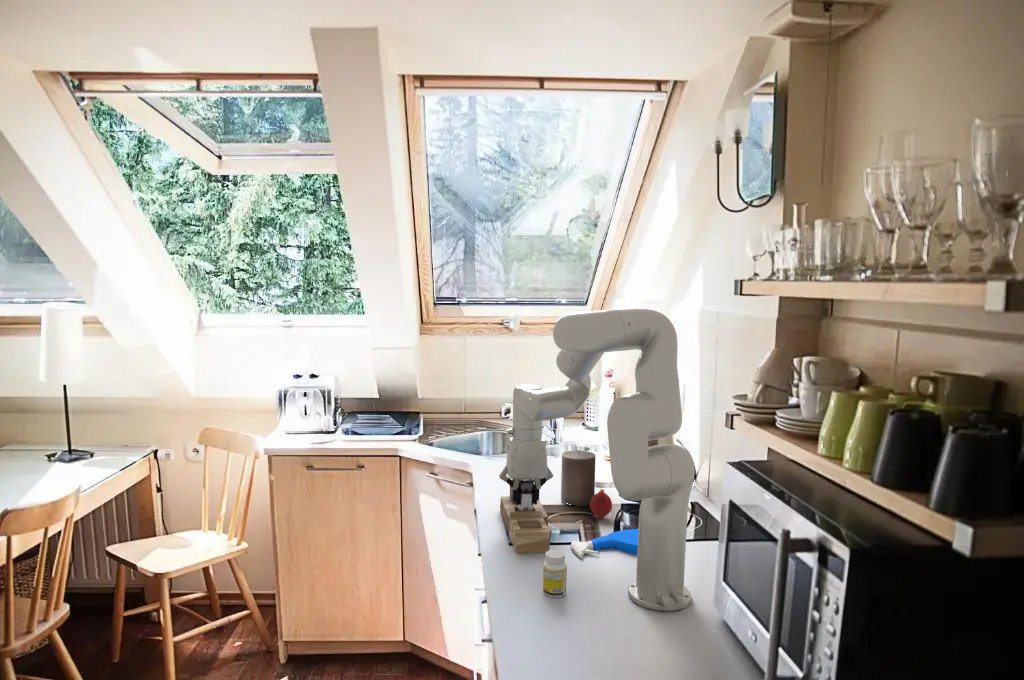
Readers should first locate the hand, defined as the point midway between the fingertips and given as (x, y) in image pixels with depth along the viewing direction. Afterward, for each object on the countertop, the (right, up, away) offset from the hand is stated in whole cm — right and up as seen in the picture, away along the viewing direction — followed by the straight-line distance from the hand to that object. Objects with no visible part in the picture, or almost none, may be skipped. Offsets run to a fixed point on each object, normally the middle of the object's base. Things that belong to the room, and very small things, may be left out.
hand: (525, 502), depth 178 cm
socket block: (-1, -6, +4) cm, 7 cm away
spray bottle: (+23, -9, -12) cm, 27 cm away
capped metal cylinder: (0, -6, +1) cm, 6 cm away
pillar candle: (+15, -5, +20) cm, 26 cm away
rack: (+1, -7, -11) cm, 13 cm away
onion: (+20, -6, +7) cm, 22 cm away
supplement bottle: (+5, -10, -36) cm, 37 cm away
